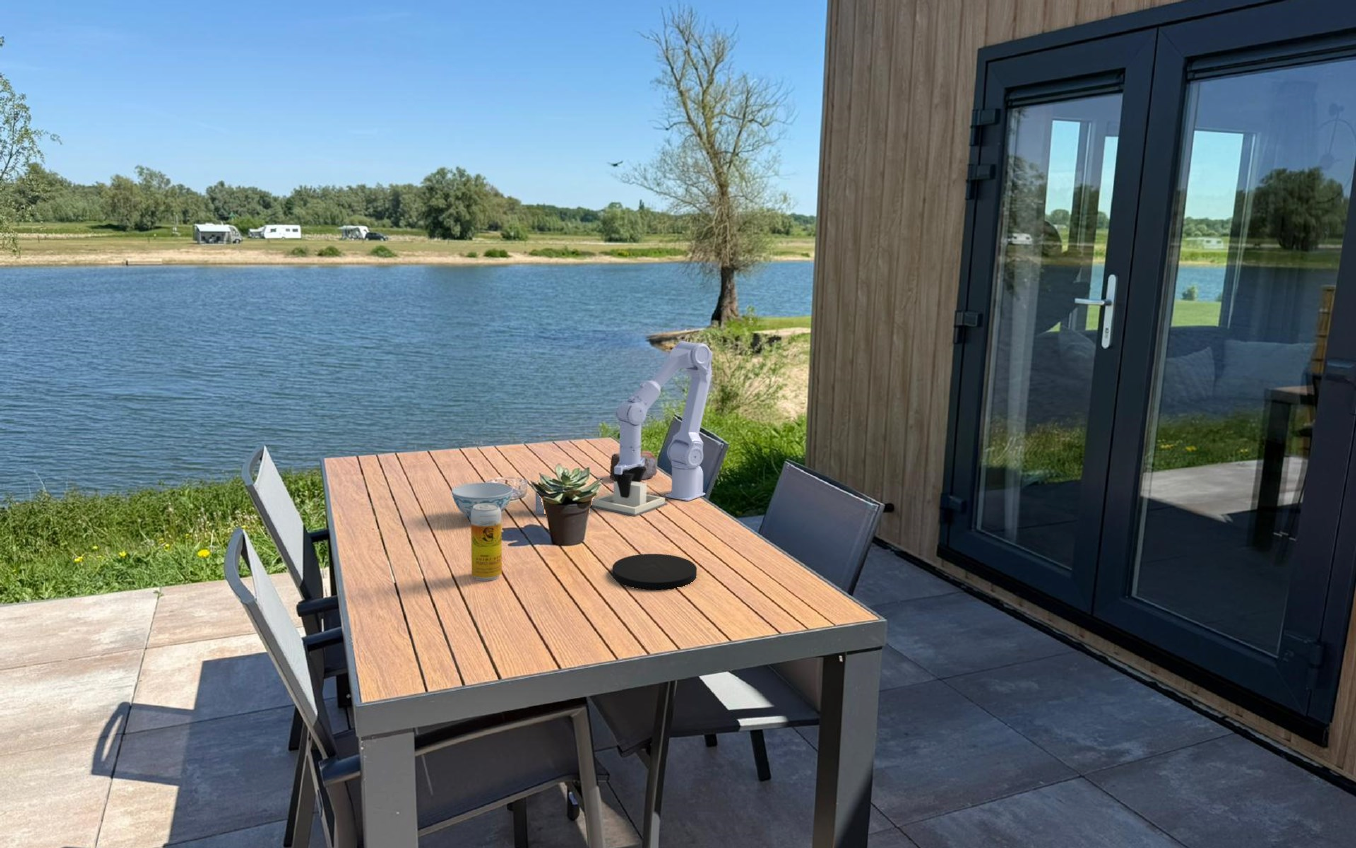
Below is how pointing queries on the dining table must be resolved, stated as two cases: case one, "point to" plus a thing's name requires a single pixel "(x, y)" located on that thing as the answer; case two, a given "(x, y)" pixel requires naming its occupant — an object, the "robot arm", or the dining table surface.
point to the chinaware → (481, 495)
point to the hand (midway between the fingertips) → (629, 495)
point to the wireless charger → (654, 571)
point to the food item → (649, 464)
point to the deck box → (631, 494)
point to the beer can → (486, 541)
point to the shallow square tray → (608, 504)
